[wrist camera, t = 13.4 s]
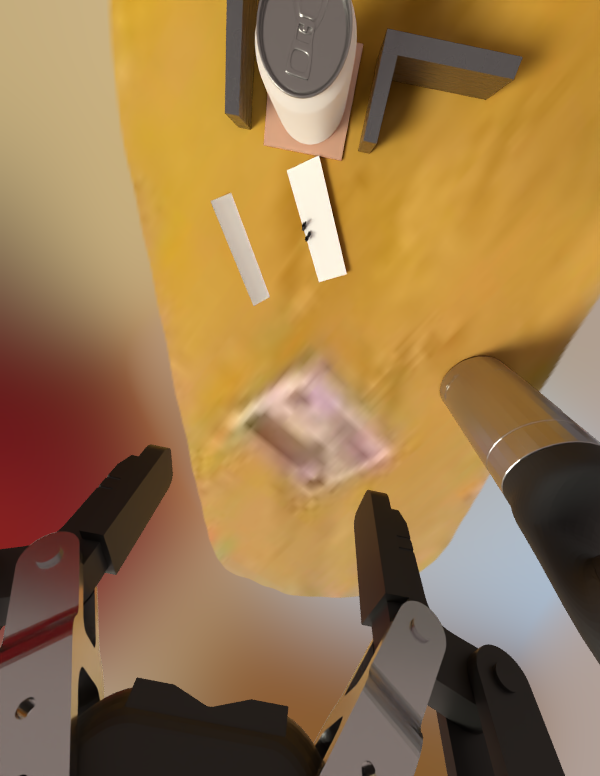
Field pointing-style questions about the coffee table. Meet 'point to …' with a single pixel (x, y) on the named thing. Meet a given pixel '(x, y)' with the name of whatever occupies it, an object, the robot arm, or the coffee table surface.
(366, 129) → the guide rails
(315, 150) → the pad
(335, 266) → the white strips
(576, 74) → the coffee table surface
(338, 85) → the can
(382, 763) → the robot arm
